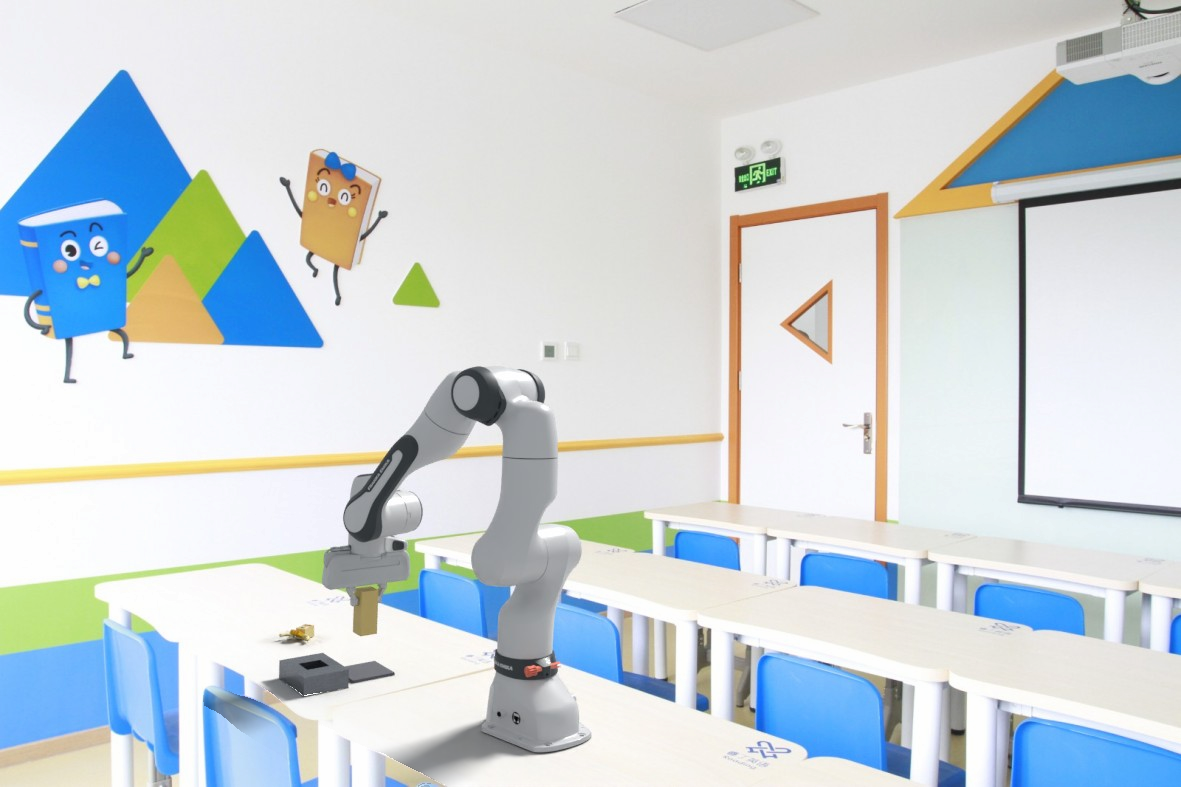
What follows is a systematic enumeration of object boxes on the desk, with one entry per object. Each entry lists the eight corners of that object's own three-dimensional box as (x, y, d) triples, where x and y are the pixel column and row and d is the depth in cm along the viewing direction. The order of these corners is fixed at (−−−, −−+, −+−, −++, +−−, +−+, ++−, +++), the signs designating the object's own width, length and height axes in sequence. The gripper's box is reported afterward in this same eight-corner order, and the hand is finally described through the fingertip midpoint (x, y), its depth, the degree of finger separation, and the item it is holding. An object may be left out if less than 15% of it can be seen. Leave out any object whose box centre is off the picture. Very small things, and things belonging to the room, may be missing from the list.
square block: (376, 633, 205) (378, 589, 205) (360, 636, 202) (362, 592, 202) (369, 629, 208) (370, 586, 208) (352, 631, 205) (354, 588, 205)
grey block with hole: (348, 687, 195) (349, 669, 195) (303, 696, 189) (304, 677, 189) (322, 670, 206) (322, 652, 206) (278, 678, 200) (279, 660, 200)
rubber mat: (394, 675, 204) (394, 672, 204) (353, 683, 198) (353, 680, 198) (374, 663, 212) (374, 660, 212) (334, 670, 206) (334, 668, 206)
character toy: (277, 628, 226) (297, 621, 233) (277, 641, 226) (297, 633, 234) (303, 633, 223) (323, 625, 231) (303, 646, 223) (323, 638, 231)
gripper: (330, 550, 196) (327, 613, 196) (414, 542, 209) (412, 601, 209) (318, 545, 200) (316, 606, 201) (401, 537, 213) (399, 595, 214)
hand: (366, 604), depth 205 cm, fingers closed on square block, 4 cm apart
